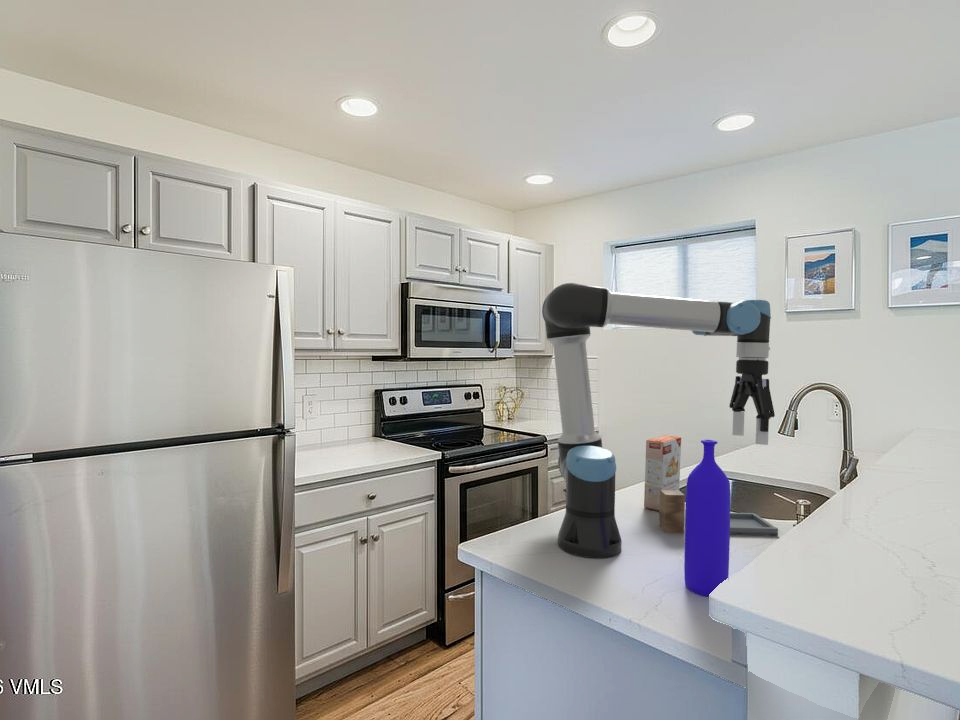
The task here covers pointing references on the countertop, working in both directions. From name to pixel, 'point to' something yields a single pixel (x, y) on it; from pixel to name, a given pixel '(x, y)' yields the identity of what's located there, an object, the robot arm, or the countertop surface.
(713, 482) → the bottle
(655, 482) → the cracker box
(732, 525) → the slate tray
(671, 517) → the walnut block
